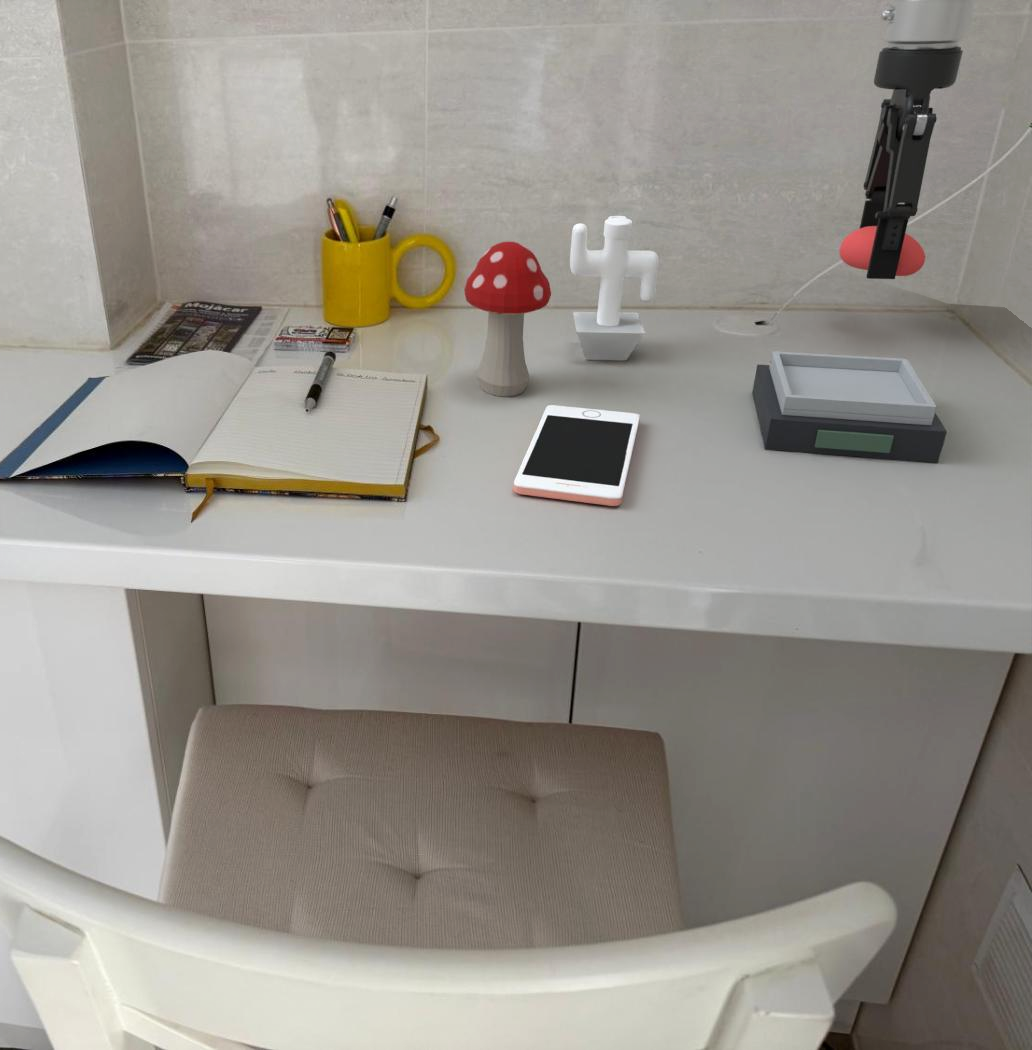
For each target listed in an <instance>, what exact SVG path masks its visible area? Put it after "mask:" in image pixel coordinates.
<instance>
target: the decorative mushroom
mask: <svg viewBox="0 0 1032 1050" xmlns="http://www.w3.org/2000/svg"><path fill="white" fill-rule="evenodd" d="M551 296H552V290H551V285H550V281H549V279H548V277H547V276H546V275H545V273H544V272H543V270H542V268H541V265H540V263H539V260H538V258H537V257H536V255H535V254H534V252H533V251H532V250H530V249H529V248H528V247H527V246H525V245H524V244H521V243H519V242H515V241H502V242H501V241H500V242H498V243H496V244H494V245H493V246H491V247H489V248H488V249H487V250H486V251H485V252H483V254H482V256H481V257H480V259H479V260H478V262H477V263H476V266H475V268H474V270H473V271H472V273H470V275H469V276H468V278H467V279H466V283H465V286H464V297H465V300H466V302H467V303H468V304H469V305H471V306H473V307H475V308H476V309H479V310H482V311H484V312H488V313H487V314H488V315H487V331H486V332H487V333H486V341H485V344H484V350H483V354H482V358H481V361H480V363H479V366H478V368H477V370H476V372H477V373H476V374H477V378H478V383H479V387H480V388H481V390H482V391H483V392H485V393H487V394H489V395H492V396H497V397H506V398H507V397H508V398H509V397H514V396H518V395H520V394H522V393H523V392H525V389H526V387H527V384H528V382H529V379H530V373H529V370H528V367H527V364H526V358H525V348H524V347H525V345H524V326H525V325H524V322H525V314H528V313H532V312H535V311H538V310H541V309H543V308H545V307H546V306H547V305H548V304H549V302H550V300H551Z"/></svg>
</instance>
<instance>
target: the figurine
mask: <svg viewBox="0 0 1032 1050" xmlns="http://www.w3.org/2000/svg"><path fill="white" fill-rule="evenodd" d="M632 229H633V220H632V219H630V218H627V216H624V215H610V216H608V217H607V218H606V219H605V220H604V227H603V237H604V242H603V247H602V248H601V249H593V250H592V249H588V227H587V225H586V224H585V223H581V222H580V223H576V224H574V225H573V227H572V231H571V239H570V253H569V269H570V271H571V273H572V275H574V276H576V277H598V278H600V282H599V284H600V285H599V293H598V302H597V305H598V306H597V311H572V315H573V321H574V325H575V333H576V335H577V337H578V341H579V344H580V346H581V349H582V352H583V355H584V358H585V360H587V361H627V360H628V359H629V358H630V355H631V354H632V353H633V351H634V350H635V348H636V347H637V345H638V344H639V343H640V341H641V340H642V339H643V338H644V335H645V334H646V332H645V328H644V326H643V324H642V321H641V318H640V315H639V313H638V312H621V309H622V301H623V291H624V284H625V283H624V282H625V278H627V277H629V278H630V277H631V278H640V288H639V298H640V300H641V301H643V302H649V303H650V302H652V301H654V299H655V298H656V294H657V293H656V292H657V286H658V285H657V284H658V279H659V268H660V258H659V254H657V252H656V251H653V250H642V249H641V250H640V249H639V250H633V249H631V250H630V249H628V248H629V239H630V237H632Z"/></svg>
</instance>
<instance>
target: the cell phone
mask: <svg viewBox="0 0 1032 1050" xmlns="http://www.w3.org/2000/svg"><path fill="white" fill-rule="evenodd" d="M640 419H641V415H640V414H639V413H635V412H628V411H627V412H626V411H618V410H617V411H616V410H606V409H598V408H597V409H596V408H587V407H576V406H565V405H557V404H556V405H554V404H550V405H547V406H546V408H545V409H544V412H543V414H542V417H541V418H540V421H539V423H538V426H537V427H536V430H535V432H534V434H533V436H532V439H531V442H530V444H529V446H528V448H527V451H526V453H525V455H524V457H523V460H522V462H521V463H520V467H519V469H518V471H517V474H516V476H515V478H514V481H513V486H512V487H513V488H512V489H513V492H514V493H515V494H518V495H523V496H531V497H539V498H548V499H555V500H562V501H571V502H578V503H585V504H586V503H587V504H594V505H603V506H608V507H609V506H610V507H617V506H620V505H621V503H622V501H623V495H624V491H625V487H626V484H627V483H626V482H627V478H628V474H629V470H630V466H631V461H632V456H633V452H634V448H635V444H636V438H637V433H638V429H639V424H640Z"/></svg>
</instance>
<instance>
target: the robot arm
mask: <svg viewBox="0 0 1032 1050" xmlns="http://www.w3.org/2000/svg"><path fill="white" fill-rule="evenodd" d="M975 4H976V0H890V1H889V9H884V10H883V11H882V12H881V13H880V19H881V21H884V22H885V21H886V23H885V26H884V31H883V35H882V40H883V42H885V43H886V44H887V47H883V48H882V49H881V51H879V54H878V58H877V63H876V68H875V73H874V78H873V84H874V86H875V87H877V88H878V89H879V88H880V89H885V90H892V95H891V98H884V99H883V100H882V102H881V103H880V104H881V105H880V108H881V109H880V116H879V121H878V124H877V125H878V126H877V130H876V134H875V138H874V142H873V145H872V150H871V154H870V159H869V164H868V167H867V170H866V171H867V172H866V176H865V179H864V182H863V190H864V191H865V193H864V197H865V199H866V200H865V201H864V204H863V210H862V215H861V218H860V219H861V220H860V224H859V229H860V228H863V227H867V226H877V229H876V234H875V239H874V243H873V248H872V253H871V257H870V262H869V267H868V270H866V278H867V279H872V280H873V279H874V280H895V279H896V277H897V276H896V272H897V267H898V263H899V258H900V254H901V250H902V245H903V241H904V237H905V233H907V232H906V231H907V227H908V223H909V219H910V218H911V217H915V216H916V215H917V213H918V209H919V208H918V206H919V202H920V201H919V200H920V196H921V191H922V190H921V189H922V185H923V180H924V174H925V171H926V164H927V160H928V159H927V158H928V155H929V154H928V153H929V148H930V143H931V138H932V135H933V131H934V128H935V125H936V123H937V118H938V117H937V113H933V112H934V109H933V107H930V103H931V93H932V91H933V90H935V89H937V90H942V89H948V88H950V87H953V86H954V84H955V83H956V81H957V78H958V73H959V69H960V64H961V60H962V56H963V52H964V50H962V46H959V42H963V41H965V40H966V39H967V37H968V34H969V29H970V25H971V22H972V17H973V11H974V7H975Z"/></svg>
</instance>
